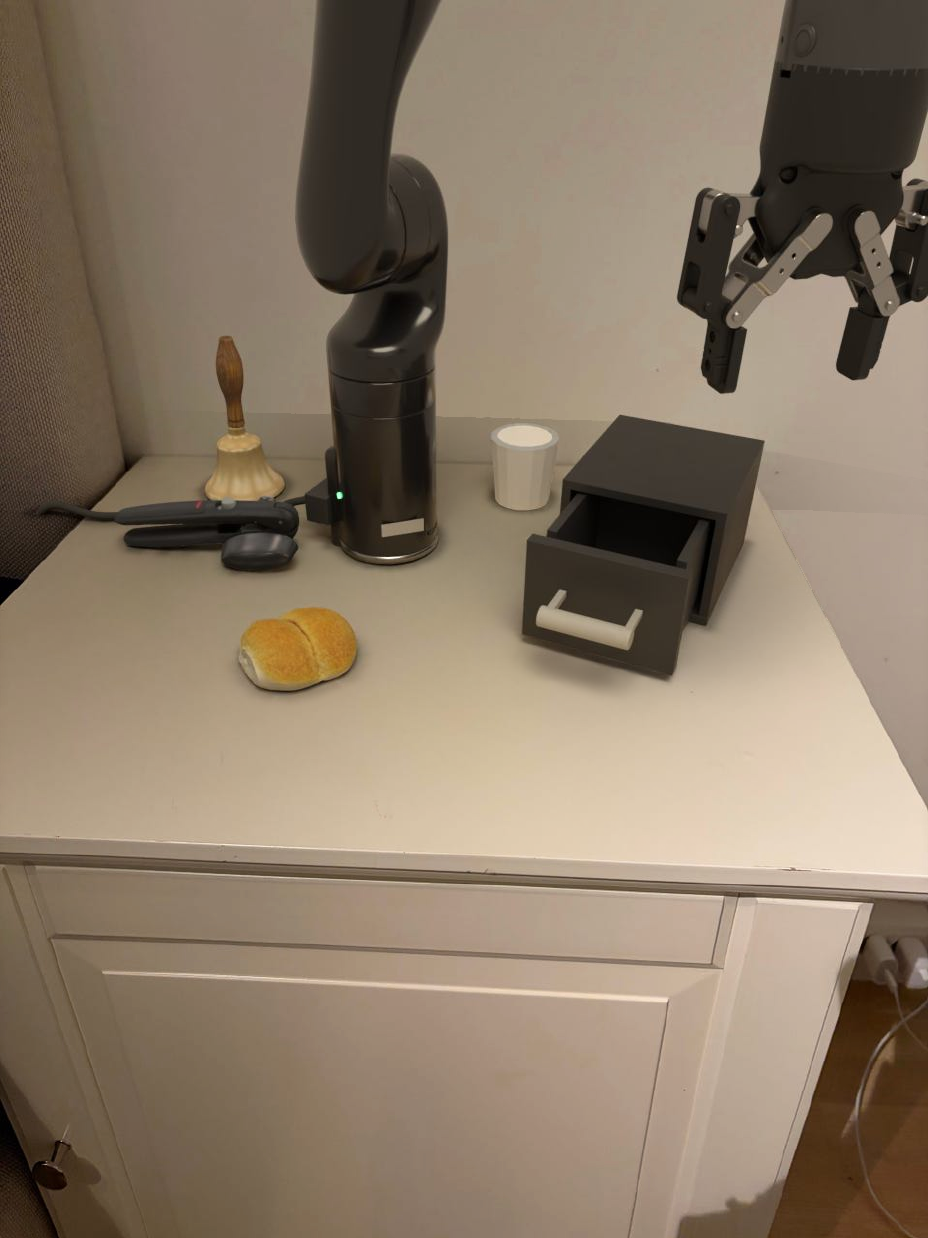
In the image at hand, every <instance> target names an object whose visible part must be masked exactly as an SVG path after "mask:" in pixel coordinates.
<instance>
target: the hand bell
mask: <svg viewBox="0 0 928 1238" xmlns="http://www.w3.org/2000/svg"><path fill="white" fill-rule="evenodd" d="M242 361H243V360H242V358H241V355H240V353H239V351H238V349H237V346H236V344H235V341H234V339H233V336H231V335H221V336H219V338H218V344H217V349H216V355H215V371H216V378H217V382H218V385H219V388H220V391H221V392H222V395H223V398H224V401H225V405H226V406H225V407H226V416H227V417H226V418H227V422H226V423H227V434H226V435H224V436H222V437H220V438H219V439H218V440H217V442H216V464H215V468H214V472H213V474H212V476H211V477H210V478H209V479H208V481H207V482H206V484H205V487H204V494H205V496H206V498H208V500H222V499H223V498H225V497H229V498H232V499H234V500H242V501H258V499H259V498H260V497H262V496H264V495H269V496H271V497H273V498H274V499H275V497H277V496H279V495H280V494H282V492H283V491H284V489H285V487H286V483H285V480H284V478H283V477H282V476H281V474H280V473H278V472H277V471H276V470H274V468H272V467H271V465H270V464H269V462H268V460H267V458H266V455H265V452H264V449H263V445H262V442H261V439H260V438H259V437H258V436H257V435H255V434H253V433H249V432H247V430H246V426H245V424H246V421H245V417H244V411H243V404H242V397H243V396H242V395H243V390H244V378H245V377H244V367H243V362H242Z"/></svg>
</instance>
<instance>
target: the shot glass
mask: <svg viewBox="0 0 928 1238" xmlns="http://www.w3.org/2000/svg"><path fill="white" fill-rule="evenodd" d="M490 439H491V440H490V441H491V454H492V467H493V468H492V469H493V470H492V471H493V485H494V500H495V502H496V503H498V505H500V506H501V507H504V508H506V509H508V510H513V511H525V512H526V511H533V510H539V509H541V508H543V507H545V506H546V505H547V504H548V502H549V500H550V495H551V490H552V482H553V477H554V471H555V466H556V460H557V455H558V447H559V442H560V437H559V433H557V432H556V431H555V430H554V429H552V428H550V427H548V426H545V425H542V424H537V423H530V422H516V423H508V424H504V425H502V426H499V427H496V428H494V430H493V431H491V432H490Z"/></svg>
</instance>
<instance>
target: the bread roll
mask: <svg viewBox="0 0 928 1238" xmlns="http://www.w3.org/2000/svg"><path fill="white" fill-rule="evenodd" d="M356 636H357V635H356V633H355V631H354V628H353V627H352V626H351V624H350V623H349V621H348V620H347V618H345V617H344V616H343V615H341V614H340V613H339V612H337V611H335V610H333V609H330V608H328V607H327V608H326V607H322V606H310V607H296V608H293V609H292V610H289V611H286V612H285V613H283V614H282V615H280V616H279V617H278V618H264V619H259V620H256V621H254V622H252V623H250V624H249V626H247V628H246V629H245V631H243V633H242V635H241V636H240V637H241V638H240V645H239V654H238V661H239V663H240V665H241V668H242V669H243V671H244V673H245V674H246V675H247V677H248V678H249V680H251V681H252V682H253V683H254V684H255V685H256V686H257V687H259V688H261V689H265V690H270V691H287V692H290V691H297V690H302V689H306V688H309V687H311V686H313V685H316V684H319V683H320V682H322V681H330V680H333V679H336V678H338V677H340V676H342V675H343V674H345V673H346V672H347V671H349V670H350V669H351V667H352V666H353V663H354V661H355V658H356V655H357V652H358V643H357V637H356Z"/></svg>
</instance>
